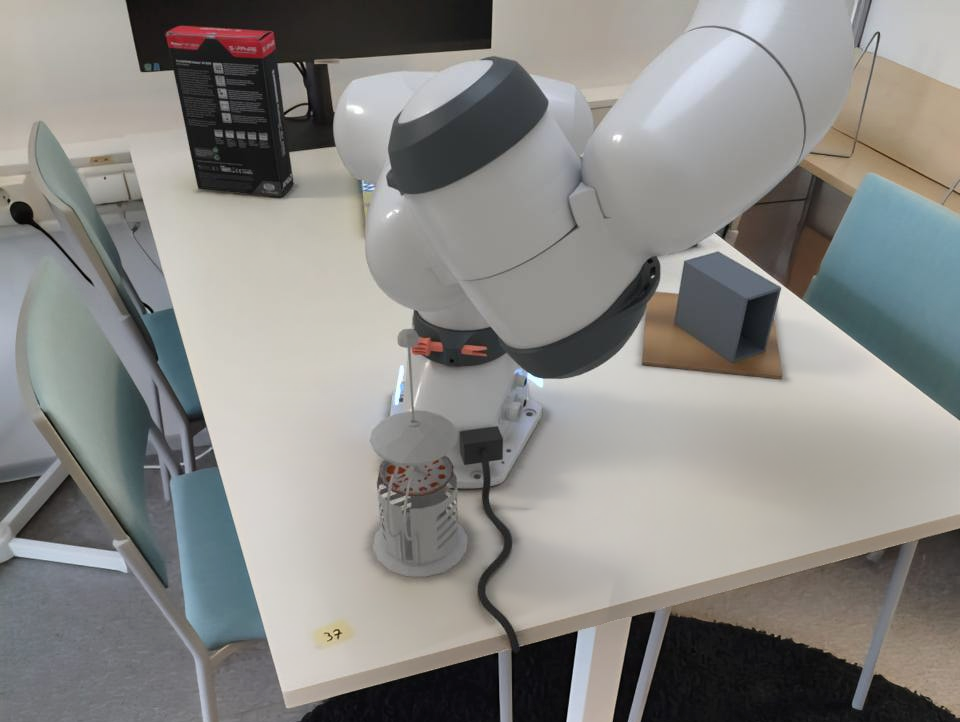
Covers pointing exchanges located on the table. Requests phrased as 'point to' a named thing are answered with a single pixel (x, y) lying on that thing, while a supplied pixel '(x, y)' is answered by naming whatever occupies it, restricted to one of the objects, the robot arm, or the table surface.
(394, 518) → the french press
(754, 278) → the grey basket
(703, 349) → the cork pad
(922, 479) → the table surface
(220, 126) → the graphics card box
